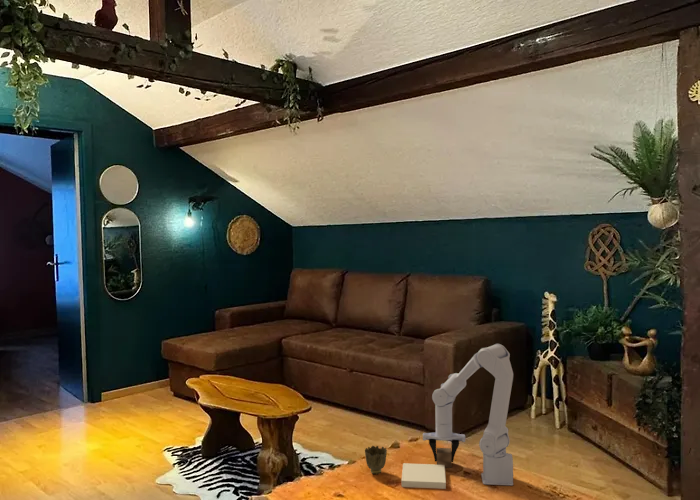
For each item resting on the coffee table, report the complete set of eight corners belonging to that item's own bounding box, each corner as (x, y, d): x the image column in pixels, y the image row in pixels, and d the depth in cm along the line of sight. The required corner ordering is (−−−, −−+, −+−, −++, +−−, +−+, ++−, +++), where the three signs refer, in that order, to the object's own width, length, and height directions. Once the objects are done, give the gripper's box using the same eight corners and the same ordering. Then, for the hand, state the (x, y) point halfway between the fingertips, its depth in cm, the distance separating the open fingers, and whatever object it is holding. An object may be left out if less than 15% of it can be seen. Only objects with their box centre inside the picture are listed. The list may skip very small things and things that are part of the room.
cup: (361, 474, 203) (360, 451, 203) (370, 466, 210) (370, 444, 209) (381, 479, 200) (381, 455, 199) (390, 470, 206) (390, 447, 206)
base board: (444, 470, 206) (444, 464, 206) (445, 488, 192) (445, 482, 192) (403, 468, 207) (403, 463, 207) (401, 486, 194) (401, 480, 193)
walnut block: (450, 462, 213) (450, 448, 213) (451, 467, 208) (451, 453, 208) (436, 461, 213) (436, 447, 213) (436, 467, 208) (436, 453, 208)
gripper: (464, 419, 213) (464, 457, 214) (422, 417, 215) (423, 455, 215) (465, 425, 206) (465, 465, 207) (422, 424, 208) (422, 463, 208)
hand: (443, 460), depth 211 cm, fingers closed on walnut block, 5 cm apart
